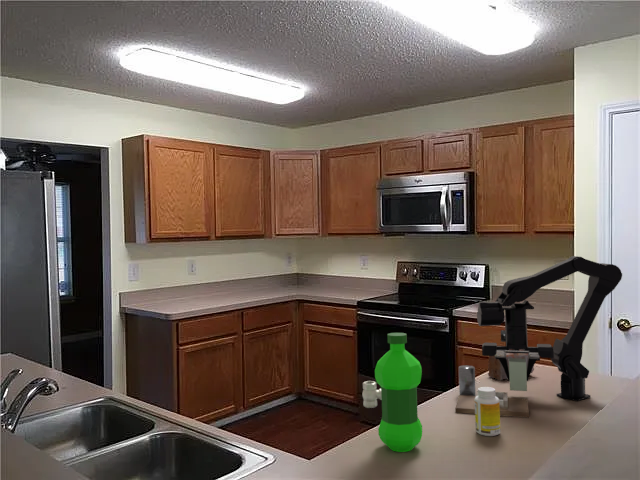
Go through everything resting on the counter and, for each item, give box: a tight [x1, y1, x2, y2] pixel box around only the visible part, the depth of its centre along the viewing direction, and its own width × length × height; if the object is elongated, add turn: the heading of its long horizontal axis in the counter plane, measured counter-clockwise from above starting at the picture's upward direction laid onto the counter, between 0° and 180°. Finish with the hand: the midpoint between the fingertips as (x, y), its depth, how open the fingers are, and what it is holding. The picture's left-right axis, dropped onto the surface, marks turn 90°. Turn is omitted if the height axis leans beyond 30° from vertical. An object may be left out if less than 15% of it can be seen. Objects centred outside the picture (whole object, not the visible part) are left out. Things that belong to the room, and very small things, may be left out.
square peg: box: [509, 358, 528, 392], centre depth 154 cm, size 4×4×8 cm
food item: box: [487, 353, 535, 381], centre depth 177 cm, size 14×8×10 cm, turn 113°
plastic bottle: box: [374, 332, 423, 453], centre depth 120 cm, size 10×10×25 cm
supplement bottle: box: [474, 386, 501, 437], centre depth 128 cm, size 6×6×10 cm
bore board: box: [454, 390, 530, 418], centre depth 146 cm, size 18×12×3 cm, turn 71°
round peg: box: [458, 364, 477, 396], centre depth 158 cm, size 4×4×8 cm
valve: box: [362, 380, 382, 409], centre depth 151 cm, size 7×7×12 cm
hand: (518, 380), depth 154 cm, fingers closed on square peg, 4 cm apart
